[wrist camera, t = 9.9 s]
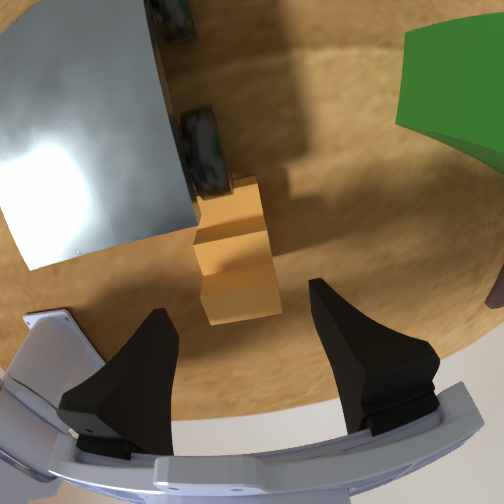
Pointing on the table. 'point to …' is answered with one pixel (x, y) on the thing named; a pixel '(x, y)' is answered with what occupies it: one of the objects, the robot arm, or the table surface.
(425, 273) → the table surface
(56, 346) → the robot arm
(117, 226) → the trolley
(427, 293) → the table surface
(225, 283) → the orange stepped block
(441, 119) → the hardback book
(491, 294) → the notebook
